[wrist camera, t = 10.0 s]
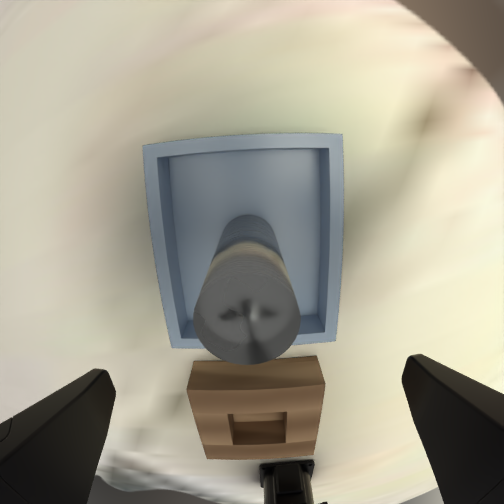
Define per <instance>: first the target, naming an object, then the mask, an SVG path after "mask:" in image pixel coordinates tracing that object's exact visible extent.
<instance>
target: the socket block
mask: <svg viewBox="0 0 504 504" xmlns="http://www.w3.org/2000/svg"><path fill="white" fill-rule="evenodd" d="M324 391H325V381H324V378H323V374H322V371H321V368H320V365H319V361H318V358H317V356H310V357H298V358H285V359H273V360H270V361H268V362H264V363H261V364H255V365H240V364H234V363H230V362H227V361H194V362H193V366H192V370H191V374H190V378H189V382H188V386H187V394H188V397H189V401H190V405H191V408H192V412H193V415H194V419H195V422H196V425H197V429H198V432H199V435H200V439H201V442H202V445H203V448H204V451H205V454H206V457H207V459H225V460H247V459H273V458H287V457H298V456H307V455H314V450H315V444H316V439H317V434H318V428H319V422H320V417H321V410H322V404H323V397H324Z"/></svg>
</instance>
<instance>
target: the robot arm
mask: <svg viewBox="0 0 504 504" xmlns="http://www.w3.org/2000/svg"><path fill="white" fill-rule="evenodd" d="M402 385H403V388H404V391H405V394H406V398H407V401H408V404H409V408H410V411H411V415H412V418H413V421H414V424H415V426H416V429H417V431H418V434H419V436H420V439H421V441H422V444H423V446H424V449H425V451H426V454H427V457H428V459H429V462H430V465H431V467H432V470H433V473H434V475H435V478H436V481H437V484H438V487H439V490H440V493H441V496H442V499H443V501H444V504H504V394H502V393H500V392H498V391H496V390H494V389H492V388H490V387H488V386H486V385H483V384H481V383H479V382H477V381H475V380H473V379H471V378H469V377H467V376H465V375H463V374H461V373H459V372H457V371H455V370H453V369H451V368H449V367H447V366H445V365H443V364H441V363H438V362H436V361H434V360H432V359H430V358H428V357H426V356H424V355H422V354H416V355H411V356H409V357H408V358H407V361H406V364H405V368H404V371H403V374H402ZM115 397H116V391H115V387H114V385H113V383H112V380H111V378H110V375H109V373H108V372H107V371H106V370H104V369H93V370H91V371H89V372H88V373H86V374H84V375H83V376H81V377H79V378H78V379H76V380H74V381H73V382H71V383H69V384H68V385H66V386H64V387H63V388H61V389H59V390H58V391H56V392H54V393H52V394H51V395H49V396H47V397H46V398H44V399H42V400H41V401H39V402H37V403H35V404H34V405H32V406H30V407H29V408H27V409H25V410H23V411H22V412H20V413H18V414H16V415H15V416H13V418H12V417H11V418H9V419H8V420H6V421H4V422H2V423H1V424H0V504H87V501H88V497H89V494H90V490H91V486H92V482H93V479H94V476H95V473H96V469H97V466H98V463H99V459H100V456H101V453H102V450H103V447H104V443H105V440H106V437H107V433H108V429H109V424H110V419H111V415H112V410H113V406H114V401H115ZM314 465H315V464H314V461H313V460H310V461H301V462H291V463H278V464H262V465H260V466H259V470H260V483H261V487H262V488H264V504H314V500H313V494H312V487H311V477H312V473H313V469H314ZM320 504H328V503H327V502H322V503H320Z"/></svg>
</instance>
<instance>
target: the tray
mask: <svg viewBox="0 0 504 504" xmlns="http://www.w3.org/2000/svg"><path fill="white" fill-rule="evenodd" d="M143 159H144V173H145V184H146V195H147V205H148V213H149V222H150V230H151V237H152V244H153V251H154V258H155V264H156V271H157V277H158V282H159V288H160V293H161V299H162V304H163V309H164V314H165V319H166V324H167V329H168V333H169V338H170V342H171V346H172V348H205V347H204V346H203V345H202V343H201V342H200V340H199V339H198V337H197V335H196V332H195V329H194V325H193V313H194V308H195V305H196V302H197V299H198V297H199V294H200V291H201V288H202V286H203V283H204V280H205V277H206V275H207V272H208V269H209V267H210V264H211V261H212V259H213V256H214V253H215V251H216V248H217V245H218V243H219V240H220V237H221V235H222V232H223V230H224V228H225V226H226V225H227V224H228V223H229V222H230V221H231V220H232V219H234V218H236V217H238V216H241V215H246V214H251V215H256V216H259V217H261V218H263V219H264V220H266V221H267V222H268V223H269V224H270V225H271V227H272V229H273V230H274V233H275V236H276V239H277V242H278V245H279V248H280V251H281V254H282V257H283V260H284V263H285V266H286V269H287V272H288V275H289V278H290V281H291V284H292V288H293V291H294V294H295V297H296V300H297V303H298V306H299V310H300V315H301V323H300V329H299V332H298V335H297V337H296V339H295V341H294V342H293V344H292V345H300V344H312V343H322V342H332V341H336V333H337V323H338V313H339V301H340V288H341V273H342V254H343V225H344V165H343V136H342V134H328V133H272V134H247V135H230V136H217V137H206V138H196V139H186V140H178V141H170V142H163V143H155V144H149V145H143Z"/></svg>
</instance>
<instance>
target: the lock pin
mask: <svg viewBox="0 0 504 504" xmlns="http://www.w3.org/2000/svg"><path fill="white" fill-rule="evenodd" d="M300 323H301V315H300V310H299V306H298V303H297V300H296V297H295V294H294V291H293V288H292V284H291V281H290V278H289V275H288V272H287V269H286V266H285V263H284V260H283V257H282V254H281V251H280V248H279V245H278V242H277V239H276V236H275V233H274V230H273V229H272V227H271V225H270V224H269V223H268V222H267V221H266V220H264V219H263V218H261V217H259V216H256V215H251V214H246V215H241V216H238V217H236V218H234V219H232V220H231V221H230V222H229V223H228V224H227V225H226V226H225V228H224V230H223V232H222V235H221V237H220V240H219V243H218V245H217V248H216V251H215V253H214V256H213V259H212V261H211V264H210V267H209V269H208V272H207V275H206V277H205V280H204V283H203V286H202V288H201V291H200V294H199V297H198V299H197V302H196V305H195V308H194V313H193V325H194V329H195V332H196V335H197V337H198V339H199V340H200V342H201V343H202V345H203V346H204V347H205V348H206V349H207V350H208V351H209V352H210V353H212V354H213V355H215V356H216V357H218V358H220V359H222V360H224V361H227V362H230V363H234V364H240V365H255V364H261V363H264V362H268V361H270V360H273V359H275V358H276V357H278V356H280V355H281V354H283V353H284V352H285V351H286V350H287V349H288V348H289V347H290V346H291V345H292V344H293V342H294V341H295V339H296V337H297V335H298V332H299V329H300Z"/></svg>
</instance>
